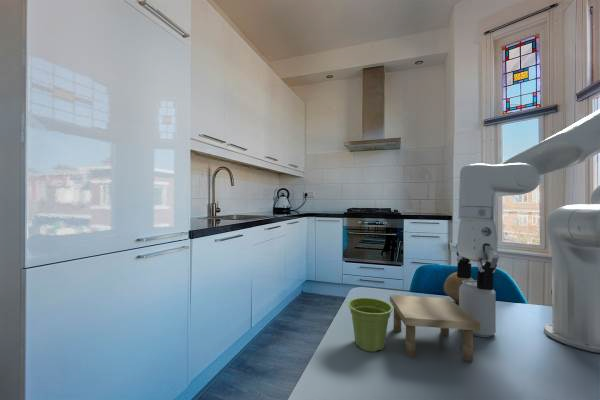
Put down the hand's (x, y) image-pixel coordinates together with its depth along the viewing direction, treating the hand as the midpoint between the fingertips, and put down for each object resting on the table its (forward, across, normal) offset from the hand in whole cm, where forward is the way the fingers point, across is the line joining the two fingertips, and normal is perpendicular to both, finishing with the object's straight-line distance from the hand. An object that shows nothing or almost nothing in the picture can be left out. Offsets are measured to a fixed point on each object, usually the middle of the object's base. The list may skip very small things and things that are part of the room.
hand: (473, 283), depth 66 cm
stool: (+12, -8, +13) cm, 19 cm away
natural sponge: (+12, +20, -6) cm, 24 cm away
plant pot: (+13, -11, +26) cm, 31 cm away
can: (+12, 0, -1) cm, 12 cm away
